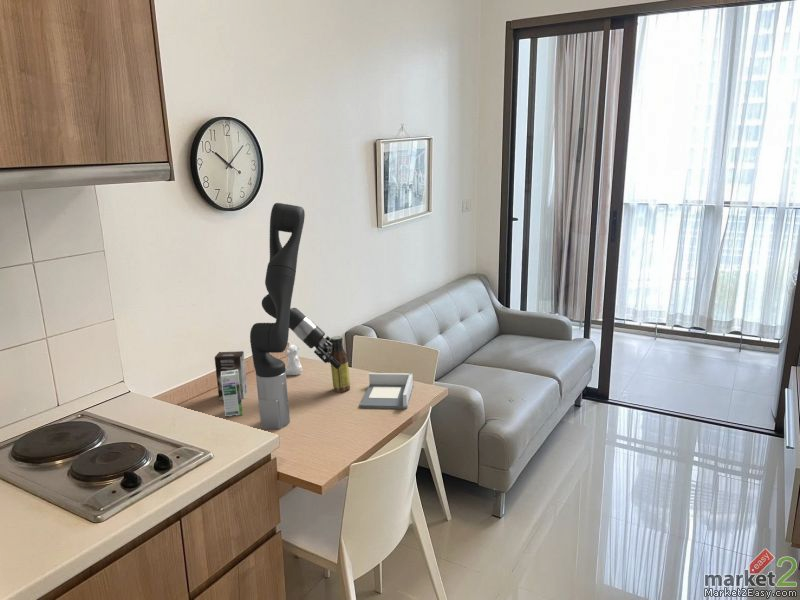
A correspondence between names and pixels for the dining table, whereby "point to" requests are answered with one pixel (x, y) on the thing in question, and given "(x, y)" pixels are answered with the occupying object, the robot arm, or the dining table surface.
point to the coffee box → (231, 362)
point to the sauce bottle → (342, 373)
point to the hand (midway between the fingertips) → (342, 363)
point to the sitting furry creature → (293, 361)
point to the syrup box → (231, 392)
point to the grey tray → (388, 391)
